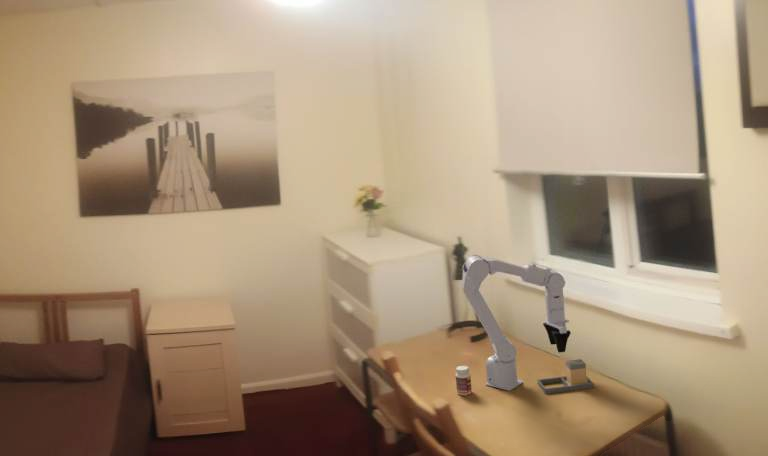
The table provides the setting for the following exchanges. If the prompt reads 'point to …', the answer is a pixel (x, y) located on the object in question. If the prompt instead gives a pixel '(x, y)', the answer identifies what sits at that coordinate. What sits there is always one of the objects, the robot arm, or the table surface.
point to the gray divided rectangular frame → (564, 382)
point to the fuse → (576, 372)
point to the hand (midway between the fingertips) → (557, 347)
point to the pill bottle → (463, 380)
